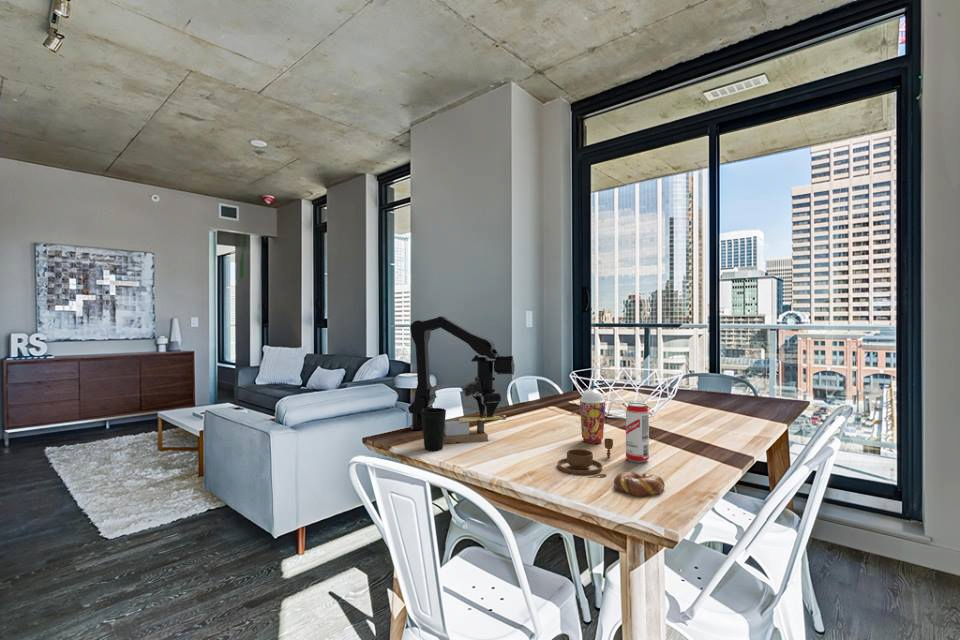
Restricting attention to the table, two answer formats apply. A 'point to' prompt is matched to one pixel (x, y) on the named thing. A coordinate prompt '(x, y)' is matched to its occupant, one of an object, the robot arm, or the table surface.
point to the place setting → (584, 461)
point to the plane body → (472, 437)
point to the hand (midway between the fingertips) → (485, 418)
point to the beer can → (637, 432)
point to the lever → (483, 418)
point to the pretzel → (639, 483)
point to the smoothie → (592, 415)
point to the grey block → (456, 428)
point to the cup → (433, 428)
